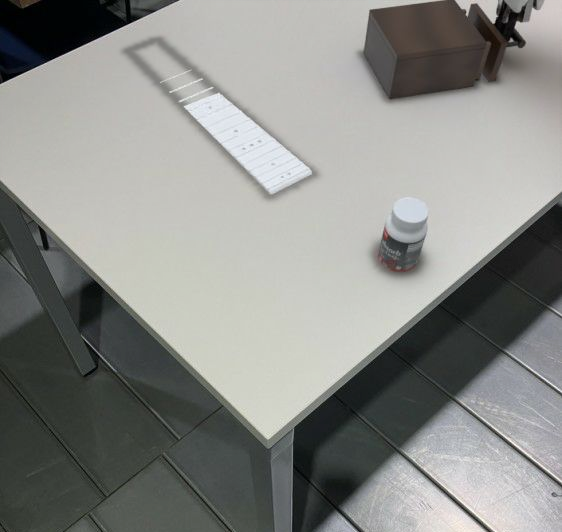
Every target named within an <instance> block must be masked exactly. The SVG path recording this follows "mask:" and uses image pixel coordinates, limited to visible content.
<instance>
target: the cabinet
mask: <svg viewBox="0 0 562 532" xmlns="http://www.w3.org/2000/svg"><path fill="white" fill-rule="evenodd" d="M462 9H463V8H462V7H461V6H460V5H459V3H458V2H457V0H435V1H434V0H433V1H427V2H418V3H410V4H403V5H395V6H387V7H379V8H370V9H369V11H368V18H367V25H366V32H365V40H364V46H363V55H364V57H365V59H366V61H367V62H368V65H369V66H370V68H371V69H372V71H373V73H374V75H375V76H376V79H377V80H378V82H379V84H380V85H381V87H382V89H383V91H384V92H385V94H386V96H387V98H388V100H393V99H400V98H406V97H413V96H420V95H427V94H432V93H439V92H445V91H453V90H459V89H465V88H473V87H474V86H475V82H476V76H477V73H478V70H479V66H480V63H481V60H482V57H483V54H484V50H485V48H486V44H487V42H486V41H485V40H484V38H483V37H482V36H481V34H480V33H479V32H478V30H477V29H476V28H475V26H474V25H473V24H472V22H471V21H470V20H469V18H468V15H467V13H466V14H465V13H464V12H463V10H462Z"/></svg>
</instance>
